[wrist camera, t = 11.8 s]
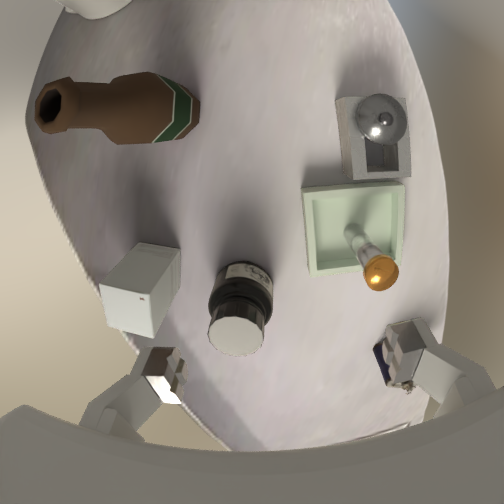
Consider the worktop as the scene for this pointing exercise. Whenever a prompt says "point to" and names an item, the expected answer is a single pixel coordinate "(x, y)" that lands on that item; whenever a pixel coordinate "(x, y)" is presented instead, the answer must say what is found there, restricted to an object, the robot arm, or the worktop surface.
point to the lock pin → (371, 259)
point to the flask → (385, 367)
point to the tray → (351, 211)
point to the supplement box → (141, 289)
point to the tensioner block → (374, 135)
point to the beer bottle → (120, 108)
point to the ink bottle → (240, 308)
